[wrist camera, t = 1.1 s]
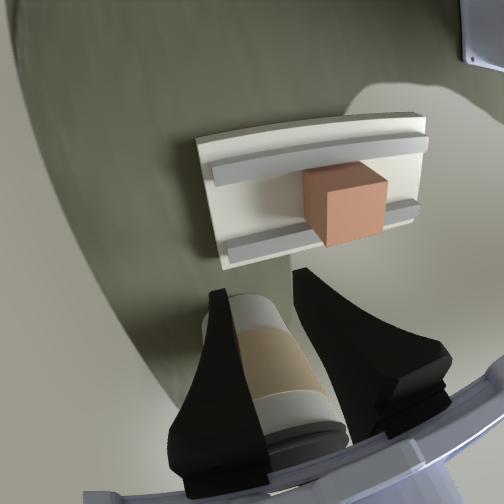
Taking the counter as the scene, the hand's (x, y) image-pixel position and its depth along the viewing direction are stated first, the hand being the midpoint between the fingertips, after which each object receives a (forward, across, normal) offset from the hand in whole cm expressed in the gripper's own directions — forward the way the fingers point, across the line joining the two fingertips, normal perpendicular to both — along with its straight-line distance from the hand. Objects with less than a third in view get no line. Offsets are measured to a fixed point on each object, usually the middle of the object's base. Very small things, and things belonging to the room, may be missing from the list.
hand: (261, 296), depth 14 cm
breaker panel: (+9, -7, 0) cm, 12 cm away
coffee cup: (+10, 0, +12) cm, 15 cm away
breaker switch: (+8, -7, 0) cm, 10 cm away
